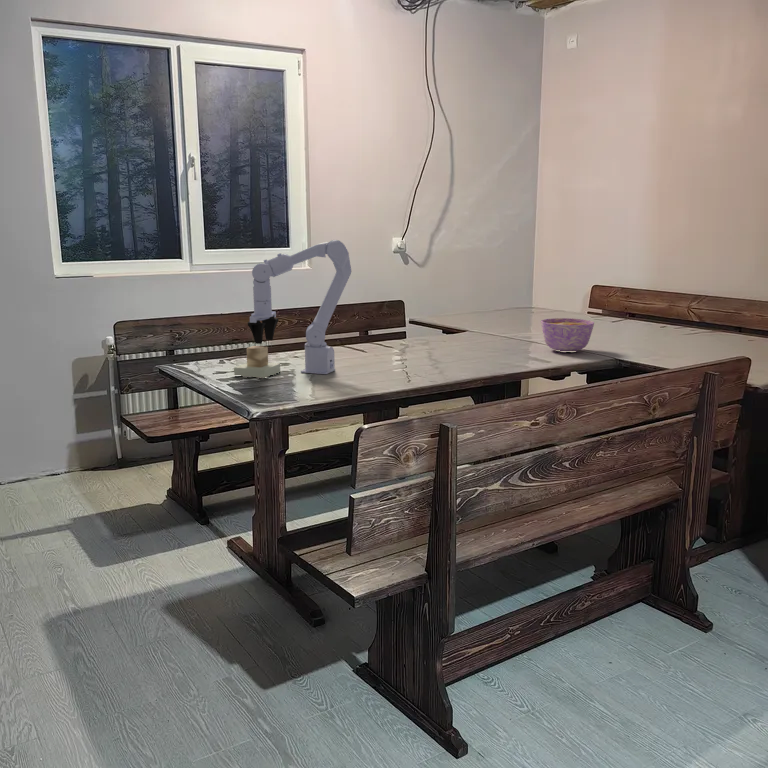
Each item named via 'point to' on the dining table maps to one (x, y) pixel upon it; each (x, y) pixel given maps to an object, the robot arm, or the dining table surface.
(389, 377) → the dining table surface
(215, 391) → the dining table surface
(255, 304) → the robot arm
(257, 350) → the maple block
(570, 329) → the bowl of food
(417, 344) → the dining table surface
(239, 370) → the sage slab
